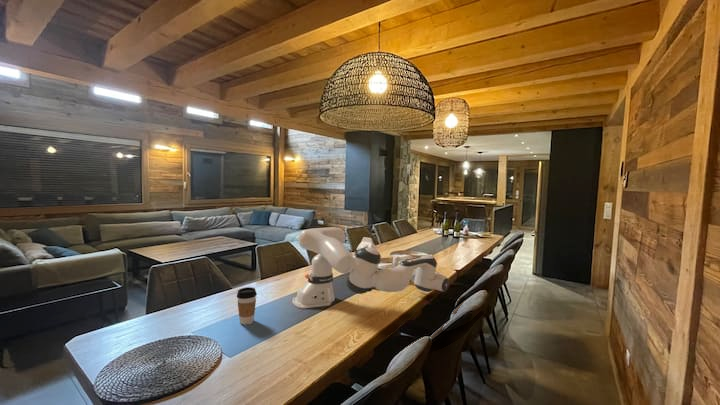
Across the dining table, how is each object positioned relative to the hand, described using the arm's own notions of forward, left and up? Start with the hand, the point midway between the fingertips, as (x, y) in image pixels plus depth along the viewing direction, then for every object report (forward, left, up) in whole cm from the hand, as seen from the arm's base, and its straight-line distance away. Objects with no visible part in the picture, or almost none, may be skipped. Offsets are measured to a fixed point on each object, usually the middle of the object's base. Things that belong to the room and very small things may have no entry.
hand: (409, 270), depth 184 cm
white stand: (0, +13, -8) cm, 16 cm away
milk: (-10, +32, -11) cm, 36 cm away
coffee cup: (-94, 0, -11) cm, 95 cm away
